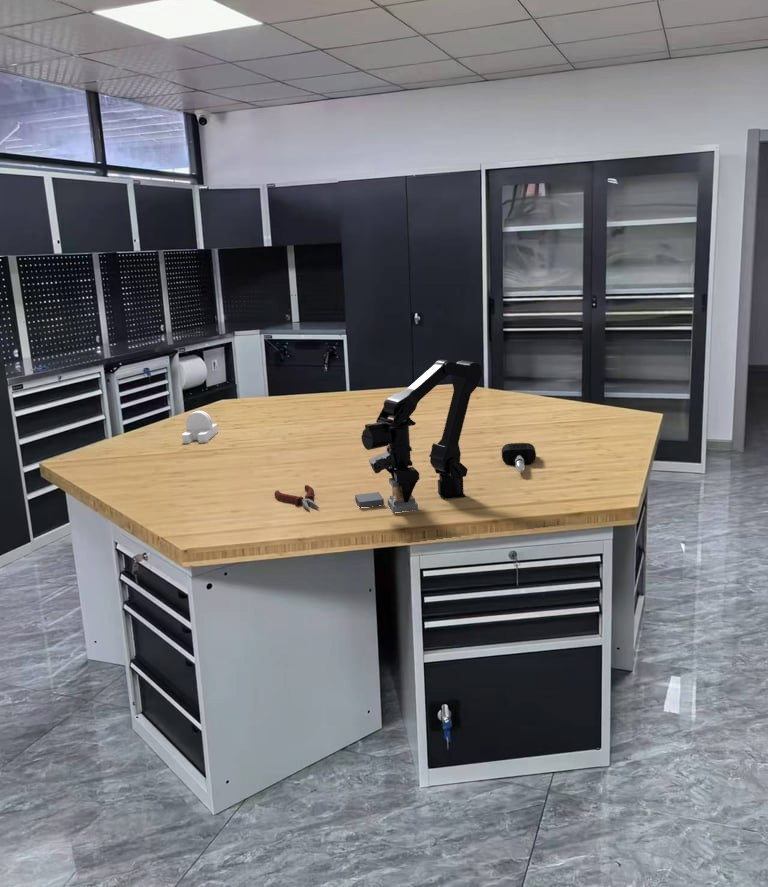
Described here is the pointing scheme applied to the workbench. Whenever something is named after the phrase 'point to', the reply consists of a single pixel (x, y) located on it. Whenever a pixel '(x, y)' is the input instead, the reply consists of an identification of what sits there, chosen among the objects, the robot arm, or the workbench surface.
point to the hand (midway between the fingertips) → (402, 497)
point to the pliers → (298, 498)
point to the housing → (398, 494)
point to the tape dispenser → (199, 428)
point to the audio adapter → (518, 455)
